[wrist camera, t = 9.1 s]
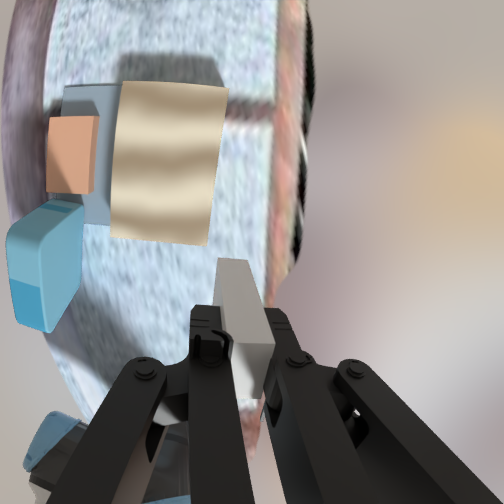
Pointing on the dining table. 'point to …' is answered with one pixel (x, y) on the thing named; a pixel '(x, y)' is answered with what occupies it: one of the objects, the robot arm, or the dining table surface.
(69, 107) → the mat
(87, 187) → the salmon orange flat block
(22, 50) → the dining table surface
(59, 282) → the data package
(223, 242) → the dining table surface
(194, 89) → the plate
